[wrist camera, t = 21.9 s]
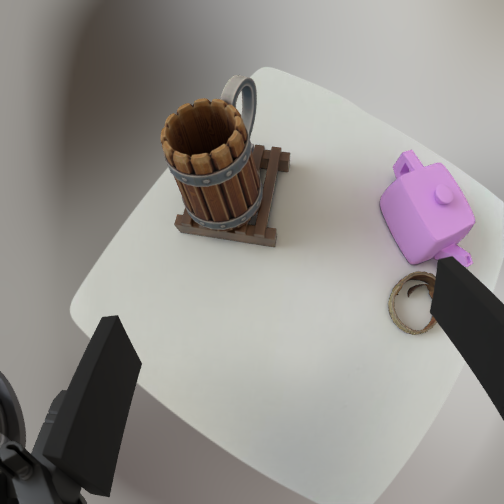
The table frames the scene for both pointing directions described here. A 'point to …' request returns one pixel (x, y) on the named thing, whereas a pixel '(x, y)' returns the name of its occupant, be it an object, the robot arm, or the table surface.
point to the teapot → (426, 211)
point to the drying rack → (259, 231)
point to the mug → (216, 157)
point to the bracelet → (413, 276)
